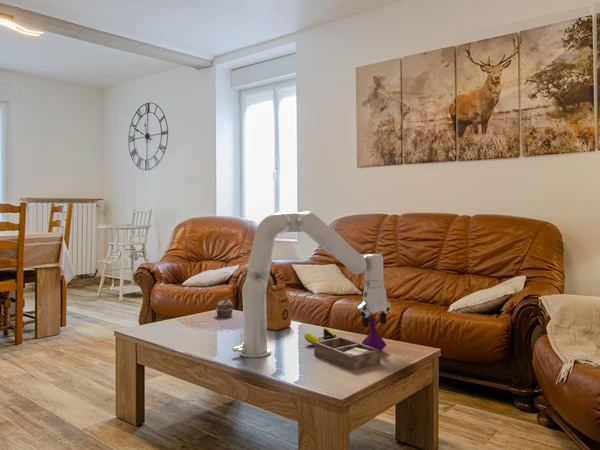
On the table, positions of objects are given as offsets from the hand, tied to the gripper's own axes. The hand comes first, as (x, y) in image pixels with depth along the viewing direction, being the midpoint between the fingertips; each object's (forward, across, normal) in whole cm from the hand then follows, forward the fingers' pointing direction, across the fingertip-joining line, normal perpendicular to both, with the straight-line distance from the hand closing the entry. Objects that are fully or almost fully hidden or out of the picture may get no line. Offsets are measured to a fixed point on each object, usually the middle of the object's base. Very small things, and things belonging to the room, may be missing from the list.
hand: (374, 325), depth 196 cm
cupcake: (+11, -22, +101) cm, 104 cm away
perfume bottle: (+11, 0, 0) cm, 11 cm away
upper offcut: (+9, -16, -7) cm, 20 cm away
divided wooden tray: (+11, -16, -1) cm, 19 cm away
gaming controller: (+11, -11, +22) cm, 27 cm away
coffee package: (+11, -12, +58) cm, 60 cm away
